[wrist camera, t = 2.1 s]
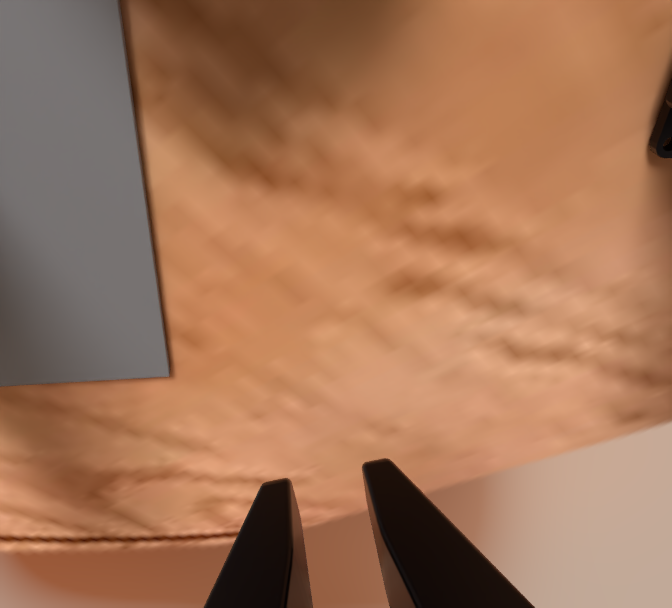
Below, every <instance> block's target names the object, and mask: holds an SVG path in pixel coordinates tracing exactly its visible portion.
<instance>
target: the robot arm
mask: <svg viewBox="0 0 672 608" xmlns="http://www.w3.org/2000/svg"><path fill="white" fill-rule="evenodd" d="M670 137H671V140H670V141H669V143H668V144H667V145H665V146H663V144H664V142H665V141H666V140H667V139H668V138H670ZM649 145H650V149H651V150H652V151H653V152H654V153H655V154H657V155H658V156H659V157H662V158H672V80H671V83H670V85H669V88H668V91H667V94H666V97H665V101H664V103H663V106H662V109H661V112H660V114H659V117H658V120H657V123H656V125H655V128H654V131H653V134H652V136H651V139H650V144H649ZM362 472H363V479H364V486H365V493H366V500H367V505H368V510H369V515H370V520H371V525H372V529H373V534H374V539H375V543H376V547H377V553H378V557H379V562H380V566H381V571H382V576H383V581H384V585H385V590H386V594H387V598H388V602H389V606H390V608H535V607H534V606H533V605H532V604H531V603H530V602H529V601H528V600H527V599H526V598H525V597H524V596H523V595H522V594H521V593H520V592H519V591H518V590H517V589H516V588H515V587H514V586H513V585H512V584H511V583H510V582H509V581H508V579H507V578H506V577H505V576H504V575H503V574H502V573H501V572H499V570H498V569H497V568H496V567H495V566H494V565H493V564H492V563H491V562H490V561H489V560H488V559H487V558H486V557H485V556H484V555H483V554H482V553H481V552H480V551H479V550H478V549H477V548H476V547H475V546H474V545H473V544H472V543H471V542H470V541H469V540H468V539H467V538H466V537H465V535H464V534H463V533H462V532H461V531H460V530H459V529H458V528H457V527H456V526H455V525H454V524H453V523H452V522H451V521H450V520H449V519H448V518H447V517H446V516H445V515H444V514H443V513H442V512H441V511H440V510H439V509H438V508H437V507H436V506H435V505H434V504H433V503H432V502H431V501H430V500H429V499H428V498H427V497H426V496H425V495H424V494H423V493H422V491H421V490H420V489H419V488H418V487H417V486H416V485H415V484H414V483H413V482H412V481H411V480H410V479H409V478H408V477H407V476H406V475H405V474H404V473H403V472H402V471H401V470H400V469H399V468H398V467H397V466H396V465H395V464H394V463H393V462H392V461H391V460H390V459H386V458H384V459H379V460H374V461H369V462H365V463H364V464H363V466H362ZM204 608H313V605H312V596H311V589H310V582H309V574H308V568H307V560H306V552H305V545H304V538H303V530H302V524H301V518H300V513H299V509H298V505H297V501H296V497H295V493H294V490H293V486H292V483H291V481H290V479H288V478H283V479H278V480H273V481H268V482H265V483H263V484H262V486H261V487H260V489H259V491H258V493H257V496H256V498H255V500H254V502H253V504H252V506H251V508H250V510H249V513H248V515H247V517H246V519H245V521H244V523H243V525H242V527H241V529H240V532H239V534H238V536H237V538H236V540H235V542H234V544H233V546H232V549H231V551H230V553H229V555H228V557H227V559H226V561H225V563H224V566H223V568H222V570H221V572H220V574H219V576H218V578H217V580H216V583H215V584H214V587H213V589H212V591H211V593H210V595H209V597H208V599H207V601H206V604H205V606H204Z"/></svg>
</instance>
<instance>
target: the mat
mask: <svg viewBox="0 0 672 608" xmlns="http://www.w3.org/2000/svg"><path fill="white" fill-rule="evenodd" d="M169 374H170V366H169V359H168V352H167V344H166V337H165V330H164V322H163V315H162V308H161V300H160V293H159V286H158V279H157V271H156V264H155V257H154V249H153V242H152V235H151V227H150V220H149V213H148V205H147V198H146V191H145V184H144V176H143V169H142V162H141V154H140V147H139V140H138V132H137V125H136V118H135V110H134V103H133V96H132V89H131V81H130V74H129V67H128V59H127V52H126V45H125V37H124V30H123V23H122V15H121V8H120V1H119V0H0V386H17V385H33V384H50V383H67V382H84V381H101V380H118V379H135V378H151V377H168V376H169Z"/></svg>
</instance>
